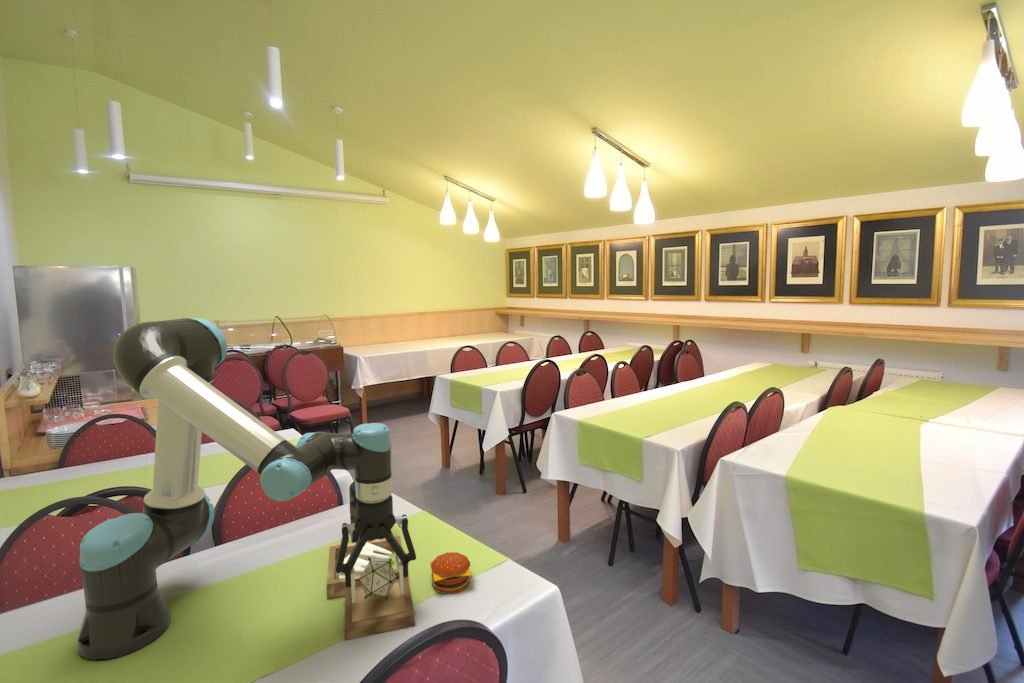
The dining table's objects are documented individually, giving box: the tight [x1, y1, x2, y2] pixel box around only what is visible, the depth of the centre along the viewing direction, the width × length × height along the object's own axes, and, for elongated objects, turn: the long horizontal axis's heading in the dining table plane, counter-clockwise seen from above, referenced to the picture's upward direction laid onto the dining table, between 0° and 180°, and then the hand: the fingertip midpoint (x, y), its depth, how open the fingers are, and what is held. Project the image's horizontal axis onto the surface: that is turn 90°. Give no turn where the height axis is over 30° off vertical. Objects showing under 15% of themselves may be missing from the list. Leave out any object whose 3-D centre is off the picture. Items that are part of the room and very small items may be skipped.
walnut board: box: [343, 577, 416, 641], centre depth 110 cm, size 14×14×3 cm
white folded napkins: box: [337, 542, 394, 579], centre depth 126 cm, size 12×4×11 cm
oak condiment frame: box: [326, 535, 408, 600], centre depth 126 cm, size 18×18×4 cm
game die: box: [355, 557, 399, 601], centre depth 110 cm, size 9×8×10 cm
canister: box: [348, 480, 385, 543], centre depth 140 cm, size 10×10×18 cm
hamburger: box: [429, 551, 472, 594], centre depth 121 cm, size 9×10×7 cm
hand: (377, 594), depth 110 cm, fingers closed on game die, 9 cm apart
